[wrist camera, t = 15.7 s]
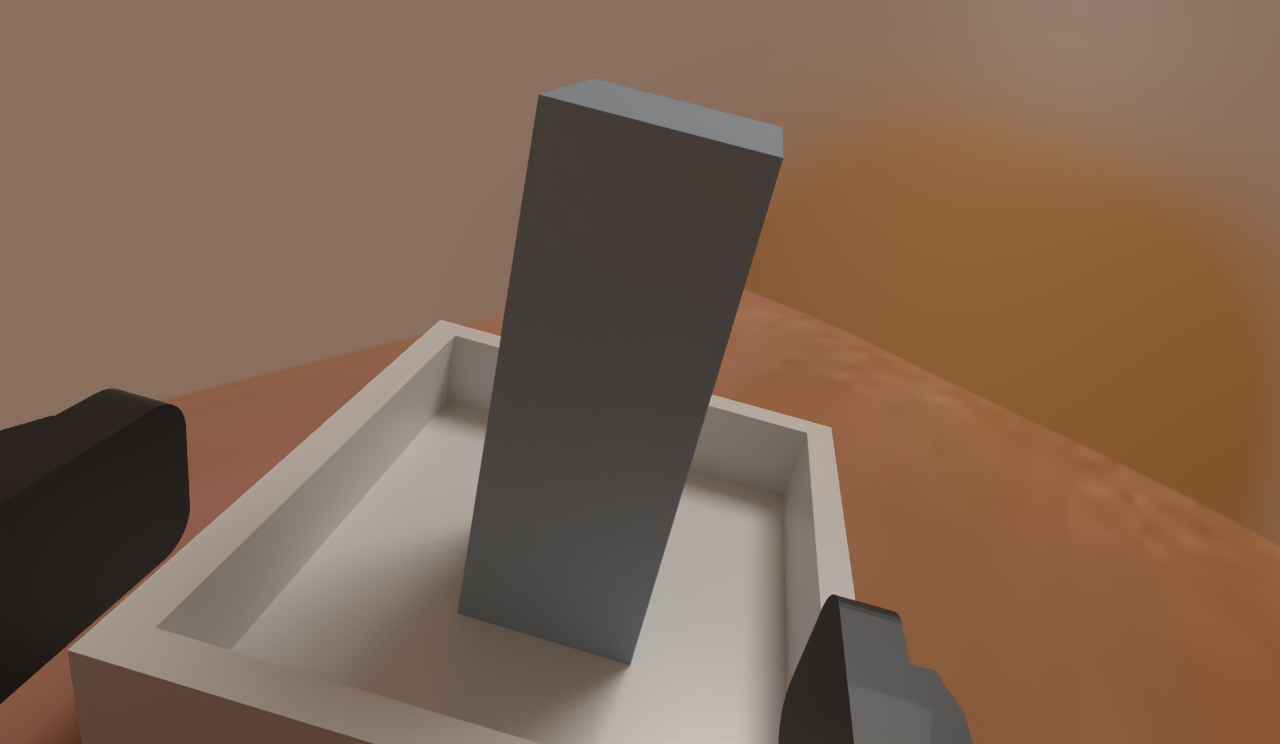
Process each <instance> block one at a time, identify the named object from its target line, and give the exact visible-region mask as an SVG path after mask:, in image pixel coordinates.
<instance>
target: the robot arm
mask: <svg viewBox="0 0 1280 744" xmlns="http://www.w3.org/2000/svg"><path fill="white" fill-rule="evenodd" d="M189 512H190V499H189V479H188V459H187V440H186V423H185V418H184V415H183V413H182V411H181V410H180V409H179V408H178V407H176V406H174V405H172V404H168V403H164V402H161V401H157V400H154V399H150V398H147V397H143V396H140V395H136V394H133V393H129V392H126V391H122V390H118V389H106V390H102V391H100V392H98V393H96V394H94V395H92V396H90V397H88V398H87V399H85V400H83V401H81V402H79V403H78V404H76V405H74V406H72V407H70V408H68V409H67V410H65V411H63V412H61V413H59V414H57V415H56V416H49V417H46V418H42V419H39V420H35V421H32V422H28V423H25V424H21V425H18V426H15V427H11V428H8V429H4V430H1V431H0V704H1V703H2V702H3V701H4V700H5V699H7V698H8V697H9V696H10V695H11V694H12V693H13V692H15V691H16V690H17V689H18V688H19V687H20V686H21V685H23V684H24V683H25V682H26V681H27V680H28V679H29V678H30V677H32V676H33V675H34V674H35V673H36V672H37V671H38V670H40V669H41V668H42V667H43V666H44V665H45V664H46V663H48V662H49V661H50V660H51V659H52V658H53V657H54V656H55V655H57V654H58V653H59V652H60V651H61V650H62V649H63V648H65V647H66V646H67V645H68V644H69V643H70V642H71V641H73V640H74V639H75V638H76V637H77V636H78V635H79V634H80V633H82V632H83V631H84V630H85V629H86V628H87V627H88V626H90V625H91V624H92V623H93V622H94V621H95V620H96V619H98V618H99V617H100V616H101V615H102V614H103V613H104V612H105V611H107V610H108V609H109V608H110V607H111V606H112V605H113V604H115V603H116V602H117V601H118V600H119V599H120V598H121V597H123V596H124V595H125V594H126V593H127V592H128V591H129V590H130V589H132V588H133V587H134V586H135V585H136V584H137V583H138V582H140V581H141V580H142V579H143V578H144V577H145V576H146V575H148V574H149V573H150V572H151V571H152V570H153V569H154V568H155V567H157V566H158V565H159V564H160V563H161V562H162V561H163V560H164V559H166V558H167V557H168V556H169V554H170V553H171V552H172V551H173V550H174V548H175V547H176V545H177V544H178V542H179V541H180V539H181V537H182V535H183V533H184V531H185V528H186V525H187V522H188V518H189ZM778 744H973V743H972V740H971V736H970V732H969V729H968V725H967V721H966V718H965V714H964V713H963V711H962V710H961V708H960V707H959V705H958V704H957V702H956V701H955V699H954V698H953V696H952V695H951V693H950V692H949V690H948V689H947V687H946V686H945V684H944V683H943V681H942V680H941V678H940V677H939V675H938V674H937V672H936V671H933V670H929V669H926V668H922V667H919V666H915V665H912V664H910V660H909V655H908V650H907V645H906V640H905V636H904V631H903V626H902V622H901V619H900V617H899V615H898V614H897V613H896V612H894V611H891V610H887V609H884V608H880V607H877V606H873V605H870V604H866V603H862V602H859V601H855V600H852V599H848V598H845V597H841V596H838V595H834V594H833V595H830V596H829V597H828V599H827V600H826V602H825V603H824V605H823V607H822V609H821V612H820V614H819V616H818V619H817V621H816V623H815V626H814V628H813V630H812V633H811V635H810V637H809V640H808V642H807V644H806V647H805V649H804V651H803V654H802V656H801V658H800V661H799V663H798V665H797V668H796V670H795V672H794V675H793V677H792V679H791V681H790V684H789V687H788V690H787V693H786V696H785V700H784V704H783V708H782V713H781V719H780V727H779V742H778Z"/></svg>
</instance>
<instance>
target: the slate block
mask: <svg viewBox="0 0 1280 744" xmlns="http://www.w3.org/2000/svg"><path fill="white" fill-rule="evenodd" d="M782 160H783V130H782V127H779V126H775V125H771V124H768V123H764V122H760V121H756V120H752V119H748V118H744V117H740V116H737V115H732V114H729V113H725V112H721V111H717V110H713V109H709V108H705V107H702V106H698V105H694V104H690V103H686V102H682V101H678V100H675V99H671V98H667V97H663V96H659V95H655V94H651V93H647V92H643V91H640V90H636V89H632V88H628V87H624V86H620V85H616V84H612V83H609V82H604V81H601V80H597V79H591V80H587V81H584V82H580V83H577V84H573V85H570V86H566V87H563V88H560V89H556V90H552V91H549V92H546V93H542V94H539V97H538V103H537V109H536V116H535V122H534V129H533V135H532V141H531V149H530V155H529V160H528V167H527V174H526V180H525V186H524V192H523V199H522V205H521V212H520V218H519V224H518V231H517V237H516V243H515V250H514V256H513V263H512V269H511V275H510V281H509V288H508V295H507V301H506V307H505V313H504V320H503V326H502V332H501V339H500V345H499V351H498V358H497V364H496V371H495V377H494V383H493V390H492V396H491V402H490V409H489V415H488V421H487V428H486V434H485V441H484V447H483V453H482V460H481V466H480V472H479V479H478V485H477V492H476V498H475V504H474V511H473V517H472V523H471V530H470V536H469V542H468V549H467V555H466V562H465V568H464V574H463V581H462V587H461V593H460V600H459V606H458V614H461V615H464V616H468V617H471V618H474V619H478V620H481V621H484V622H488V623H491V624H494V625H498V626H501V627H504V628H508V629H511V630H514V631H518V632H521V633H524V634H528V635H531V636H534V637H538V638H541V639H544V640H548V641H551V642H554V643H558V644H561V645H564V646H568V647H571V648H574V649H578V650H581V651H584V652H588V653H591V654H594V655H598V656H601V657H604V658H608V659H611V660H614V661H618V662H621V663H624V664H628V665H630V664H631V661H632V658H633V654H634V651H635V648H636V645H637V641H638V638H639V635H640V631H641V628H642V625H643V621H644V618H645V615H646V611H647V608H648V605H649V601H650V598H651V595H652V591H653V588H654V585H655V582H656V578H657V575H658V572H659V568H660V565H661V562H662V558H663V555H664V552H665V548H666V545H667V542H668V538H669V535H670V532H671V528H672V525H673V522H674V518H675V515H676V512H677V509H678V505H679V502H680V499H681V495H682V492H683V489H684V485H685V482H686V479H687V475H688V472H689V469H690V465H691V462H692V459H693V455H694V452H695V449H696V445H697V442H698V439H699V436H700V432H701V429H702V426H703V422H704V419H705V416H706V412H707V409H708V406H709V402H710V399H711V396H712V392H713V389H714V386H715V382H716V379H717V376H718V373H719V369H720V366H721V363H722V359H723V356H724V353H725V349H726V346H727V343H728V339H729V336H730V333H731V329H732V326H733V323H734V319H735V316H736V313H737V309H738V306H739V303H740V300H741V296H742V293H743V290H744V286H745V282H746V280H747V276H748V273H749V269H750V266H751V263H752V260H753V256H754V253H755V250H756V246H757V243H758V239H759V236H760V233H761V230H762V227H763V223H764V220H765V216H766V213H767V210H768V206H769V203H770V200H771V197H772V193H773V190H774V187H775V183H776V180H777V177H778V173H779V170H780V167H781V164H782Z"/></svg>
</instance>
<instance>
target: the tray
mask: <svg viewBox="0 0 1280 744" xmlns="http://www.w3.org/2000/svg"><path fill="white" fill-rule="evenodd" d="M500 339H501V336H497V335H494V334H490V333H487V332H483V331H479V330H476V329H472V328H468V327H465V326H461V325H458V324H454V323H450V322H447V321H443V320H440V321H439V322H438V323H436V324H435V325H434V326H433V327H432V328H431V329H430V330H428V331H427V332H426V333H425V334H424V335H423V336H422V337H421V338H419V339H418V340H417V341H416V342H415V343H414V344H413V345H411V346H410V347H409V348H408V349H407V350H406V351H405V352H404V353H402V354H401V355H400V356H399V357H398V358H397V359H396V360H395V361H393V362H392V363H391V364H390V365H389V366H388V367H387V368H386V369H384V370H383V371H382V372H381V373H380V374H379V375H378V376H377V377H375V378H374V379H373V380H372V381H371V382H370V383H369V384H367V385H366V386H365V387H364V388H363V389H362V390H361V391H360V392H358V393H357V394H356V395H355V396H354V397H353V398H352V399H351V400H349V401H348V402H347V403H346V404H345V405H344V406H343V407H342V408H340V409H339V410H338V411H337V412H336V413H335V414H334V415H332V416H331V417H330V418H329V419H328V420H327V421H326V422H325V423H323V424H322V425H321V426H320V427H319V428H318V429H317V430H316V431H314V432H313V433H312V434H311V435H310V436H309V437H308V438H307V439H305V440H304V441H303V442H302V443H301V444H300V445H299V446H298V447H296V448H295V449H294V450H293V451H292V452H291V453H290V454H288V455H287V456H286V457H285V458H284V459H283V460H282V461H281V462H279V463H278V464H277V465H276V466H275V467H274V468H273V469H272V470H270V471H269V472H268V473H267V474H266V475H265V476H264V477H263V478H261V479H260V480H259V481H258V482H257V483H256V484H255V485H253V486H252V487H251V488H250V489H249V490H248V491H247V492H246V493H244V494H243V495H242V496H241V497H240V498H239V499H238V500H237V501H235V502H234V503H233V504H232V505H231V506H230V507H229V508H228V509H226V510H225V511H224V512H223V513H222V514H221V515H220V516H219V517H217V518H216V519H215V520H214V521H213V522H212V523H211V524H209V525H208V526H207V527H206V528H205V529H204V530H203V531H202V532H200V533H199V534H198V535H197V536H196V537H195V538H194V539H193V540H191V541H190V542H189V543H188V544H187V545H186V546H185V547H184V548H182V549H181V550H180V551H179V552H178V553H177V554H176V555H174V556H173V557H172V558H171V559H170V560H169V561H168V562H167V563H165V564H164V565H163V566H162V567H161V568H160V569H159V570H158V571H156V572H155V573H154V574H153V575H152V576H151V577H150V578H149V579H147V580H146V581H145V582H144V583H143V584H142V585H141V586H140V587H138V588H137V589H136V590H135V591H134V592H133V593H132V594H130V595H129V596H128V597H127V598H126V599H125V600H124V601H123V602H121V603H120V604H119V605H118V606H117V607H116V608H115V609H114V610H112V611H111V612H110V613H109V614H108V615H107V616H106V617H105V618H103V619H102V620H101V621H100V622H99V623H98V624H97V625H95V626H94V627H93V628H92V629H91V630H90V631H89V632H88V633H86V634H85V635H84V636H83V637H82V638H81V639H80V640H79V641H77V642H76V643H75V644H74V645H73V646H72V647H71V648H70V649H68V656H69V663H70V670H71V676H72V683H73V690H74V697H75V704H76V711H77V718H78V724H79V731H80V738H81V744H778V742H779V727H780V719H781V713H782V708H783V704H784V700H785V696H786V693H787V690H788V687H789V684H790V681H791V679H792V677H793V675H794V672H795V670H796V668H797V665H798V663H799V661H800V658H801V656H802V654H803V651H804V649H805V647H806V644H807V642H808V640H809V637H810V635H811V633H812V630H813V628H814V626H815V623H816V621H817V619H818V616H819V614H820V612H821V609H822V607H823V605H824V603H825V602H826V600H827V599H828V597H829V596H830V595H833V594H834V595H838V596H841V597H845V598H848V599H852V600H855V595H854V588H853V581H852V574H851V566H850V559H849V552H848V545H847V538H846V531H845V523H844V516H843V509H842V502H841V495H840V488H839V480H838V473H837V466H836V459H835V452H834V445H833V437H832V430H831V427H827V426H824V425H820V424H817V423H813V422H809V421H806V420H802V419H798V418H795V417H791V416H788V415H784V414H780V413H777V412H773V411H769V410H766V409H762V408H759V407H755V406H751V405H748V404H744V403H740V402H737V401H733V400H730V399H726V398H722V397H719V396H715V395H712V396H711V399H710V402H709V406H708V409H707V412H706V416H705V419H704V422H703V426H702V429H701V432H700V436H699V439H698V442H697V445H696V449H695V452H694V455H693V459H692V462H691V465H690V469H689V472H688V475H687V479H686V482H685V485H684V489H683V492H682V495H681V499H680V502H679V505H678V509H677V512H676V515H675V518H674V522H673V525H672V528H671V532H670V535H669V538H668V542H667V545H666V548H665V552H664V555H663V558H662V562H661V565H660V568H659V572H658V575H657V578H656V582H655V585H654V588H653V591H652V595H651V598H650V601H649V605H648V608H647V611H646V615H645V618H644V621H643V625H642V628H641V631H640V635H639V638H638V641H637V645H636V648H635V651H634V654H633V658H632V661H631V664H630V665H628V664H624V663H621V662H618V661H614V660H611V659H608V658H604V657H601V656H598V655H594V654H591V653H588V652H584V651H581V650H578V649H574V648H571V647H568V646H564V645H561V644H558V643H554V642H551V641H548V640H544V639H541V638H538V637H534V636H531V635H528V634H524V633H521V632H518V631H514V630H511V629H508V628H504V627H501V626H498V625H494V624H491V623H488V622H484V621H481V620H478V619H474V618H471V617H468V616H464V615H461V614H458V606H459V600H460V593H461V587H462V581H463V574H464V568H465V562H466V555H467V549H468V542H469V536H470V530H471V523H472V517H473V511H474V504H475V498H476V492H477V485H478V479H479V472H480V466H481V460H482V453H483V447H484V441H485V434H486V428H487V421H488V415H489V409H490V402H491V396H492V390H493V383H494V377H495V371H496V364H497V358H498V351H499V345H500Z"/></svg>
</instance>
